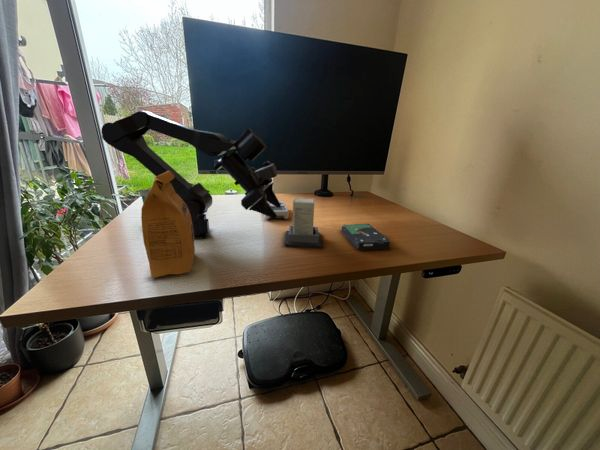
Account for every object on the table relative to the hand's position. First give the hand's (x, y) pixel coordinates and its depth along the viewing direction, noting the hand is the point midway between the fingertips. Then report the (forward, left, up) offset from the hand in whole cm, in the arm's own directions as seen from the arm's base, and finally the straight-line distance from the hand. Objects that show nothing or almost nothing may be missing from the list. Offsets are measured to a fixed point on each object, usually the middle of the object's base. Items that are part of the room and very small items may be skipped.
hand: (277, 211), depth 72 cm
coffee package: (-26, -14, -9) cm, 31 cm away
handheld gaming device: (+1, +23, -9) cm, 25 cm away
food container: (-42, +26, -9) cm, 50 cm away
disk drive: (+28, -3, -9) cm, 30 cm away
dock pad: (+8, -2, -9) cm, 12 cm away
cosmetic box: (+8, -1, -8) cm, 12 cm away
